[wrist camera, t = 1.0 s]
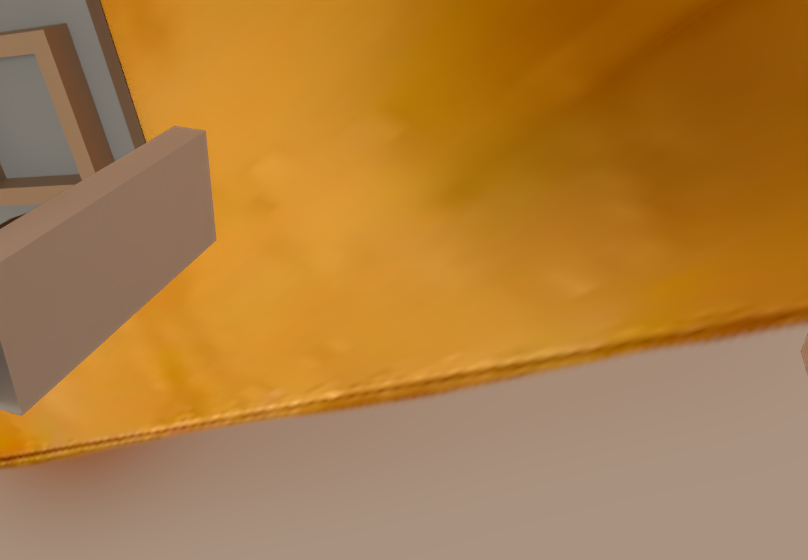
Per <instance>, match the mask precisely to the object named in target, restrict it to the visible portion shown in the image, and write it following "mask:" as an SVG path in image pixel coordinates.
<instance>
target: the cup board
mask: <svg viewBox="0 0 808 560" xmlns="http://www.w3.org/2000/svg"><path fill="white" fill-rule="evenodd" d="M145 143H146V142H145V139H144V136H143V133H142V130H141V127H140V123H139V120H138V117H137V114H136V111H135V108H134V105H133V102H132V99H131V96H130V93H129V90H128V86H127V83H126V80H125V77H124V74H123V71H122V68H121V65H120V62H119V59H118V56H117V53H116V49H115V46H114V43H113V40H112V37H111V34H110V31H109V28H108V25H107V22H106V19H105V16H104V12H103V9H102V6H101V3H100V0H0V225H1V224H2V223H4V222H6V221H7V220H9V219H11V218H14V217H17V216H20V215H23V214H26V213H28V212H30V211H32V210H33V209H35V208H37V207H38V206H40V205H42V204H43V203H45V202H47V201H49V200H50V199H52V198H54V197H55V196H57V195H59V194H60V193H62V192H64V191H65V190H67V189H69V188H71V187H72V186H74V185H76V184H77V183H79V182H81V181H82V180H84V179H86V178H88V177H89V176H91V175H93V174H94V173H96V172H98V171H99V170H101V169H103V168H104V167H106V166H108V165H110V164H111V163H113V162H115V161H116V160H118V159H120V158H121V157H123V156H125V155H127V154H128V153H130V152H132V151H133V150H135V149H137V148H138V147H140V146H142V145H143V144H145Z"/></svg>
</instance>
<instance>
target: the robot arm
mask: <svg viewBox="0 0 808 560" xmlns="http://www.w3.org/2000/svg"><path fill="white" fill-rule="evenodd" d="M215 241H216V232H215V222H214V212H213V202H212V191H211V181H210V171H209V160H208V150H207V140H206V131H204V130H198V129H191V128H185V127H178V126H174V127H172V128H171V129H169V130H167V131H166V132H164V133H162V134H160V135H159V136H157V137H155V138H154V139H152V140H150V141H149V142H147V143H145V144H143V145H142V146H140V147H138V148H137V149H135V150H133V151H132V152H130V153H128V154H127V155H125V156H123V157H121V158H120V159H118V160H116V161H115V162H113V163H111V164H110V165H108V166H106V167H104V168H103V169H101V170H99V171H98V172H96V173H94V174H93V175H91V176H89V177H88V178H86V179H84V180H82V181H81V182H79V183H77V184H76V185H74V186H72V187H71V188H69V189H67V190H65V191H64V192H62V193H60V194H59V195H57V196H55V197H54V198H52V199H50V200H49V201H47V202H45V203H43V204H42V205H40V206H38V207H37V208H35V209H33V210H32V211H30V212H28V213H26V214H23V215H20V216H17V217H14V218H11V219H9V220H7V221H6V222H4V223H2V224H1V225H0V410H3V411H7V412H10V413H14V414H18V415H24V414H25V413H26V412H27V411H28V410H29V409H30V408H31V407H32V406H33V405H35V404H36V403H37V402H38V401H39V400H40V399H41V398H42V397H43V396H45V395H46V394H47V393H48V392H49V391H50V390H51V389H52V388H53V387H54V386H56V385H57V384H58V383H59V382H60V381H61V380H62V379H63V378H64V377H66V376H67V375H68V374H69V373H70V372H71V371H72V370H73V369H74V368H75V367H77V366H78V365H79V364H80V363H81V362H82V361H83V360H84V359H85V358H87V357H88V356H89V355H90V354H91V353H92V352H93V351H94V350H95V349H96V348H98V347H99V346H100V345H101V344H102V343H103V342H104V341H105V340H106V339H108V338H109V337H110V336H111V335H112V334H113V333H114V332H115V331H116V330H117V329H119V328H120V327H121V326H122V325H123V324H124V323H125V322H126V321H127V320H129V319H130V318H131V317H132V316H133V315H134V314H135V313H136V312H137V311H139V310H140V309H141V308H142V307H143V306H144V305H145V304H146V303H147V302H148V301H150V300H151V299H152V298H153V297H154V296H155V295H156V294H157V293H158V292H160V291H161V290H162V289H163V288H164V287H165V286H166V285H167V284H168V283H169V282H171V281H172V280H173V279H174V278H175V277H176V276H177V275H178V274H179V273H181V272H182V271H183V270H184V269H185V268H186V267H187V266H188V265H189V264H190V263H192V262H193V261H194V260H195V259H196V258H197V257H198V256H199V255H200V254H202V253H203V252H204V251H205V250H206V249H207V248H208V247H209V246H210V245H211V244H213V243H214V242H215ZM801 353H802V357H803V360H804V364H805V367H806V371H807V374H808V335H807V337H806V340H805V342H804V345H803V347H802V350H801Z"/></svg>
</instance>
